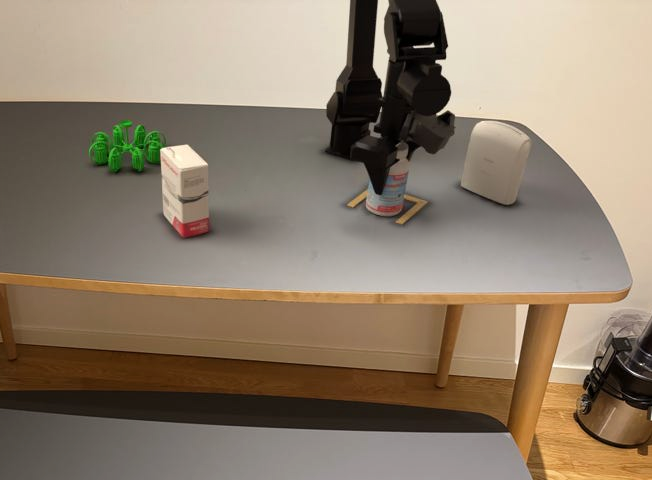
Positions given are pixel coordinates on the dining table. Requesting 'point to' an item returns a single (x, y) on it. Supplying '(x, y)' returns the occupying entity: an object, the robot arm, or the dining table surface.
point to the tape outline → (415, 208)
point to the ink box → (185, 190)
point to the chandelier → (127, 147)
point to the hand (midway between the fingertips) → (387, 187)
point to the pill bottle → (391, 187)
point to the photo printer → (496, 161)
